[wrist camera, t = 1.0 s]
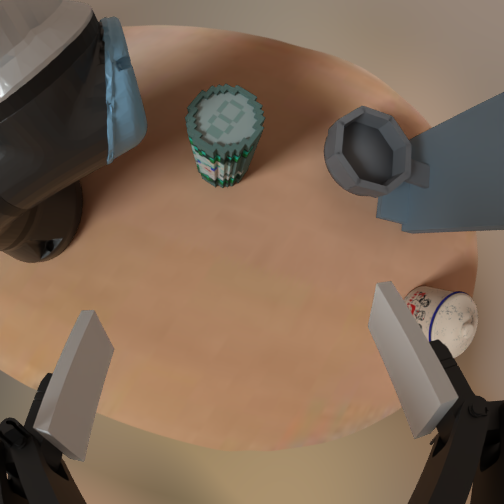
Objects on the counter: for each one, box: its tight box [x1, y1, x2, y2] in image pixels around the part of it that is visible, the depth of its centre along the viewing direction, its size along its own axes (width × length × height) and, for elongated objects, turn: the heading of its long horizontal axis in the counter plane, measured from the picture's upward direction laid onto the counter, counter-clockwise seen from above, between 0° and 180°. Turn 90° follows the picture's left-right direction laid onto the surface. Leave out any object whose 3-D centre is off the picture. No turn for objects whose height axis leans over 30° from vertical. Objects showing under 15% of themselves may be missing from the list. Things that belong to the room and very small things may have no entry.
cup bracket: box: [324, 92, 504, 233], centre depth 27 cm, size 17×14×26 cm
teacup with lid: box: [404, 286, 478, 358], centre depth 36 cm, size 12×9×12 cm
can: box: [185, 84, 265, 188], centre depth 30 cm, size 6×6×15 cm
